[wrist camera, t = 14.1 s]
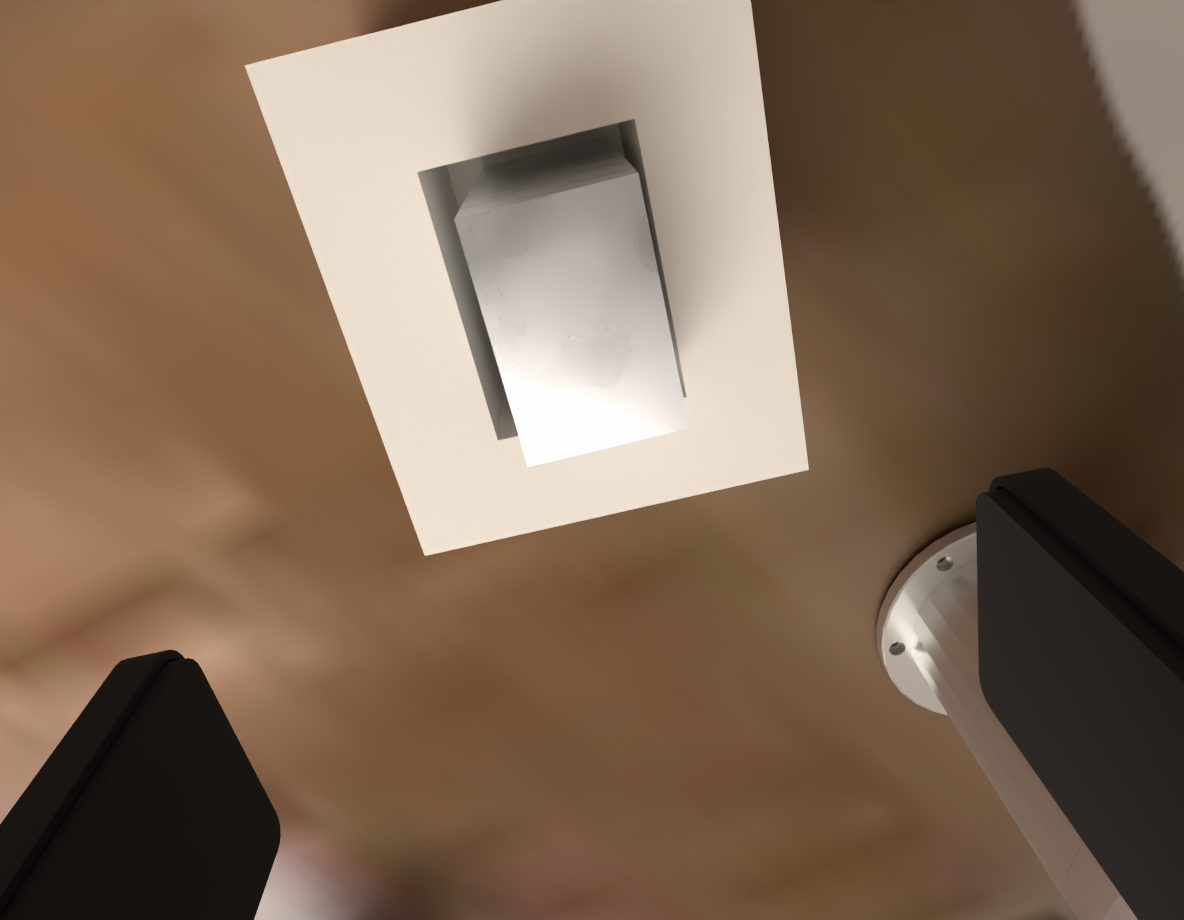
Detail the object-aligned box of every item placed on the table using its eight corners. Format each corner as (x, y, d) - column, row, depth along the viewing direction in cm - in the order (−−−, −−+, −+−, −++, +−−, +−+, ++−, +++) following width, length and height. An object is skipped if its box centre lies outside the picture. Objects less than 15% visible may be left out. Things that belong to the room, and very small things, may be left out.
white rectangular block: (604, 136, 26) (638, 172, 17) (642, 315, 29) (689, 428, 20) (483, 167, 27) (453, 219, 18) (531, 343, 29) (527, 466, 20)
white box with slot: (662, -11, 32) (743, -61, 19) (718, 335, 38) (808, 469, 25) (359, 66, 32) (244, 65, 20) (462, 394, 38) (425, 556, 26)
